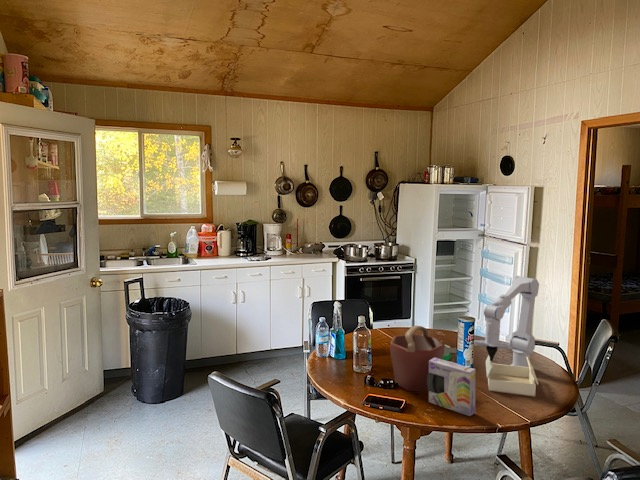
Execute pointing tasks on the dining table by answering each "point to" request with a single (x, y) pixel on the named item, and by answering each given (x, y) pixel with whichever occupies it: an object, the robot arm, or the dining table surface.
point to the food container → (449, 353)
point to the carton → (511, 380)
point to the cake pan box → (451, 386)
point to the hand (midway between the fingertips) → (490, 363)
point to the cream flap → (532, 370)
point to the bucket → (414, 358)
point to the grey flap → (488, 366)
